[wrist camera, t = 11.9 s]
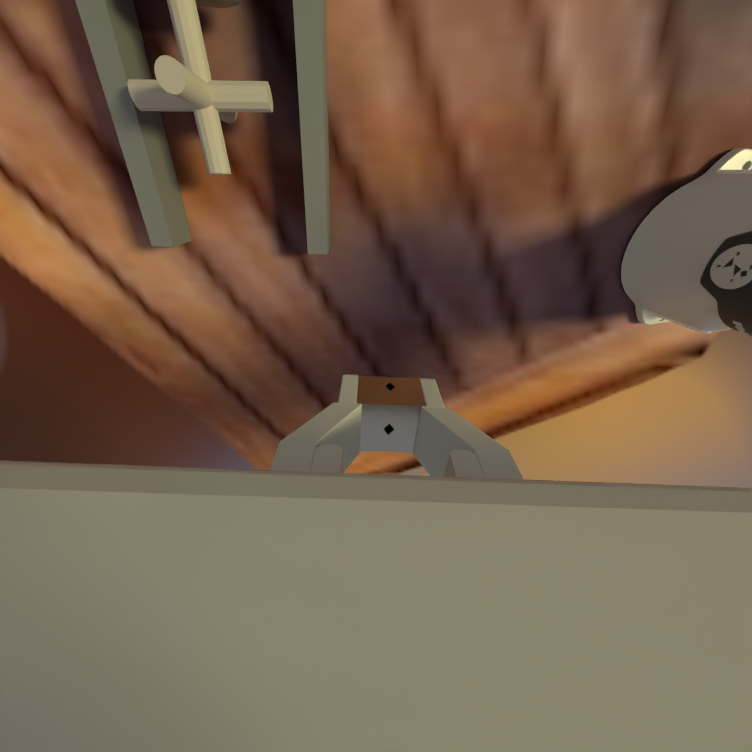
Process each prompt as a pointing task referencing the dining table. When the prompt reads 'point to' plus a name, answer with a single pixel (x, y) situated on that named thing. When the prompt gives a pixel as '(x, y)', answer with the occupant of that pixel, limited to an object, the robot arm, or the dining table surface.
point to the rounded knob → (217, 3)
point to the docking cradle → (147, 133)
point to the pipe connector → (198, 88)
